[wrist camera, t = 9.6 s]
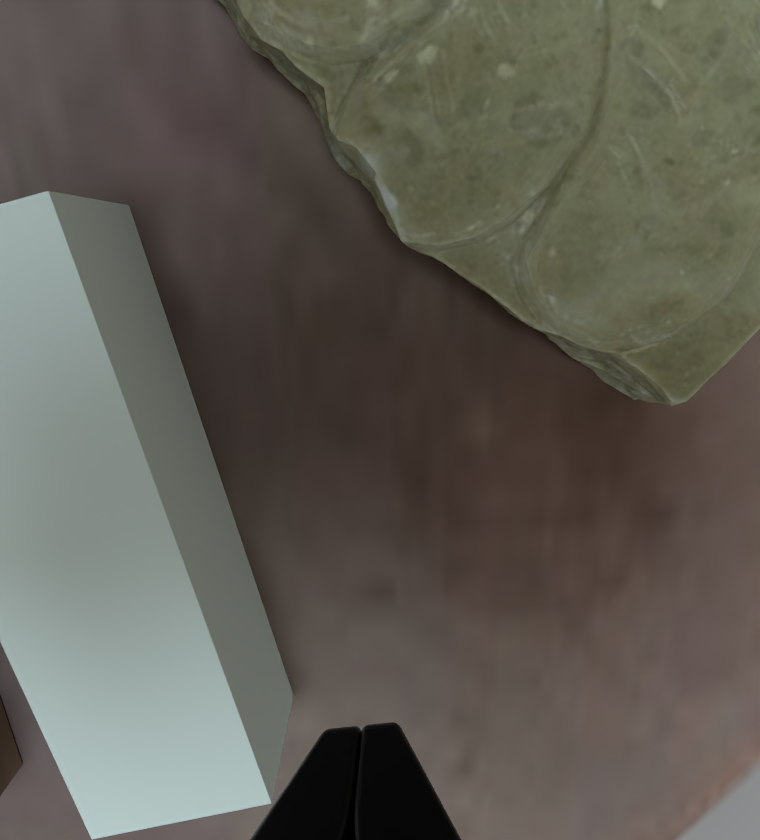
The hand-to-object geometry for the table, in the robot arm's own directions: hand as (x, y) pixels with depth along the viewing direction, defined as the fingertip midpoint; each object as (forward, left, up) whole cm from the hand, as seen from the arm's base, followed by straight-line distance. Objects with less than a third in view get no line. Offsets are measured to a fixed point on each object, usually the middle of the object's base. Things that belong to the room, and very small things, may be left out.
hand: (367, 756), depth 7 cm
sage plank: (0, -6, -10) cm, 12 cm away
